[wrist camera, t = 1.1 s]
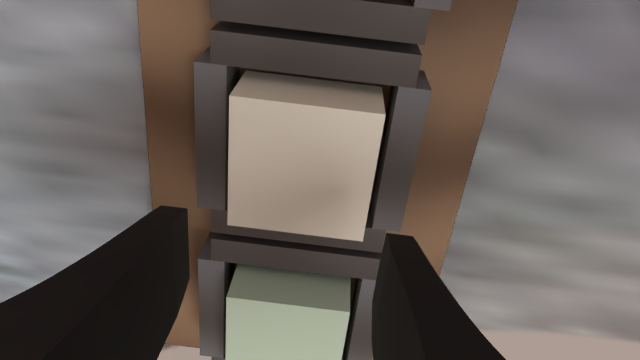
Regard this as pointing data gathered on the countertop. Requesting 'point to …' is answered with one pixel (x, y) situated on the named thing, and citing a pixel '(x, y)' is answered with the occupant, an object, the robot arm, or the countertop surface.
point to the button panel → (326, 64)
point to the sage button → (286, 314)
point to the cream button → (303, 154)
